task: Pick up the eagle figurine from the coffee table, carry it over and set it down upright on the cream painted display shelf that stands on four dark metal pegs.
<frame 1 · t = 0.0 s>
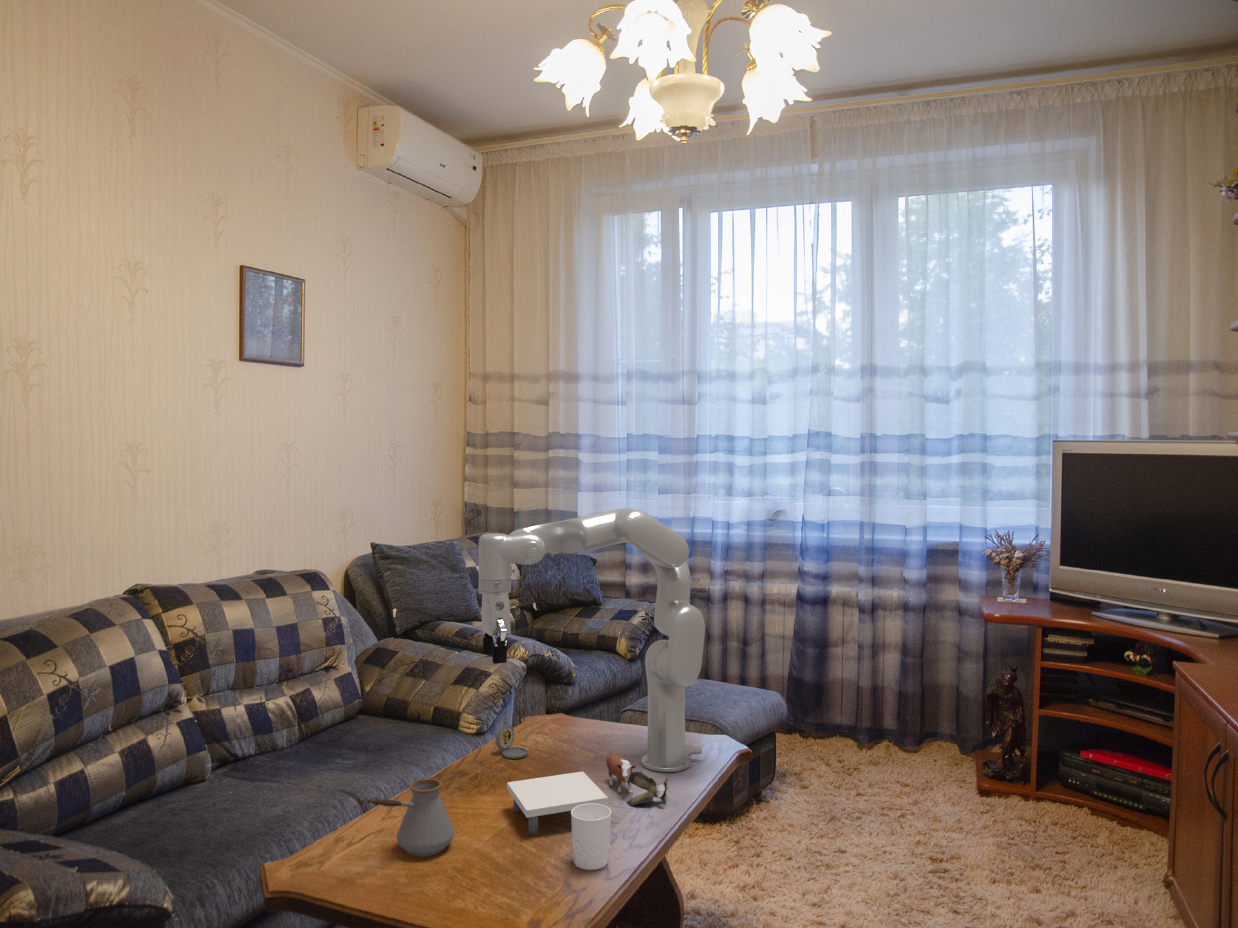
hand: (494, 658, 203), 31 cm above the table, tool pointing down, fingers open, 9 cm apart
coffee pot: (407, 858, 169), on the table
bull figurine: (620, 790, 203), on the table, touching eagle figurine
eagle figurine: (647, 803, 196), on the table, touching bull figurine
white cup: (590, 862, 168), on the table
pocket watch: (512, 755, 226), on the table
display shelf: (556, 816, 188), on the table
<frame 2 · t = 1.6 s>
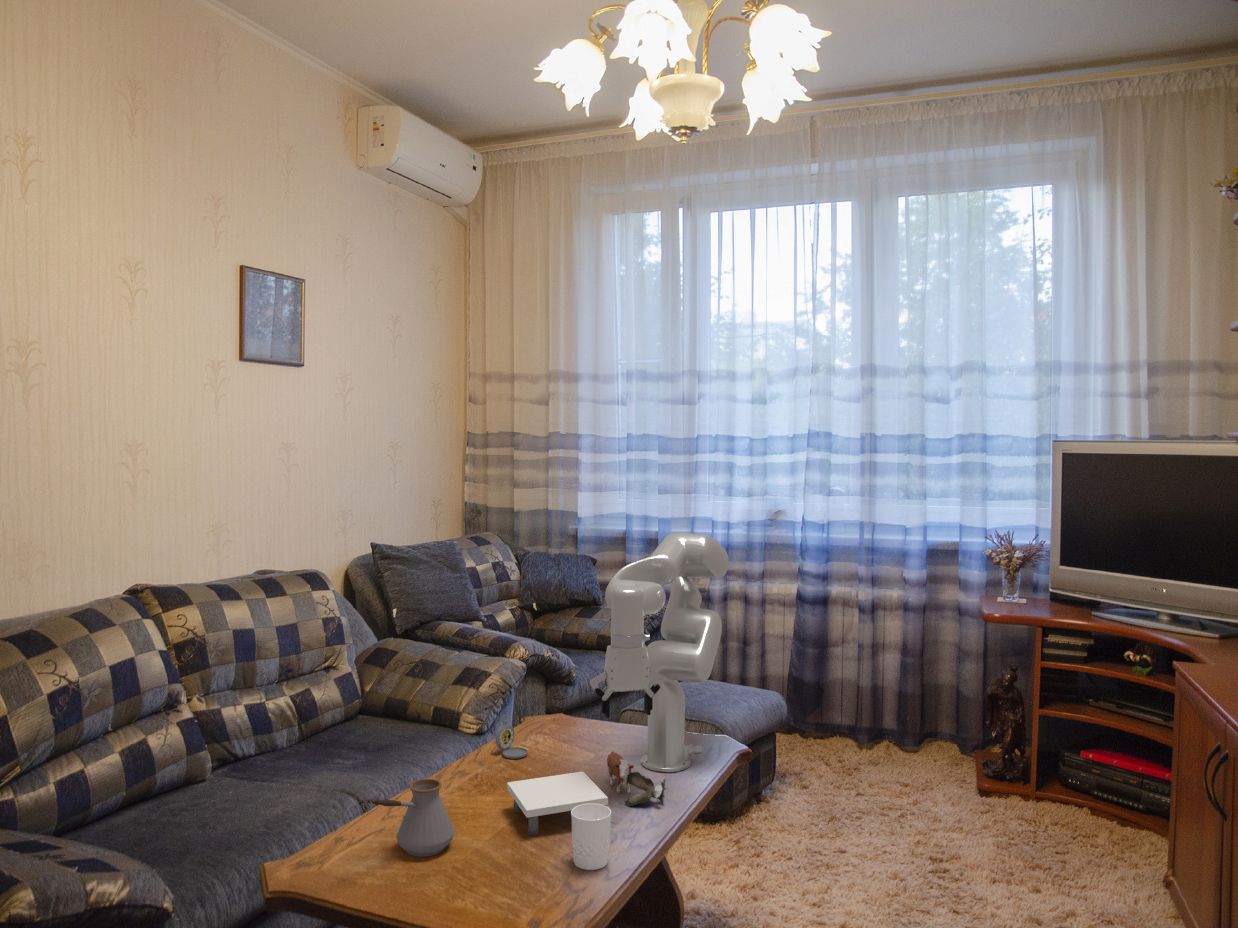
hand: (627, 714, 197), 20 cm above the table, tool pointing down, fingers open, 9 cm apart
nothing on the table moved.
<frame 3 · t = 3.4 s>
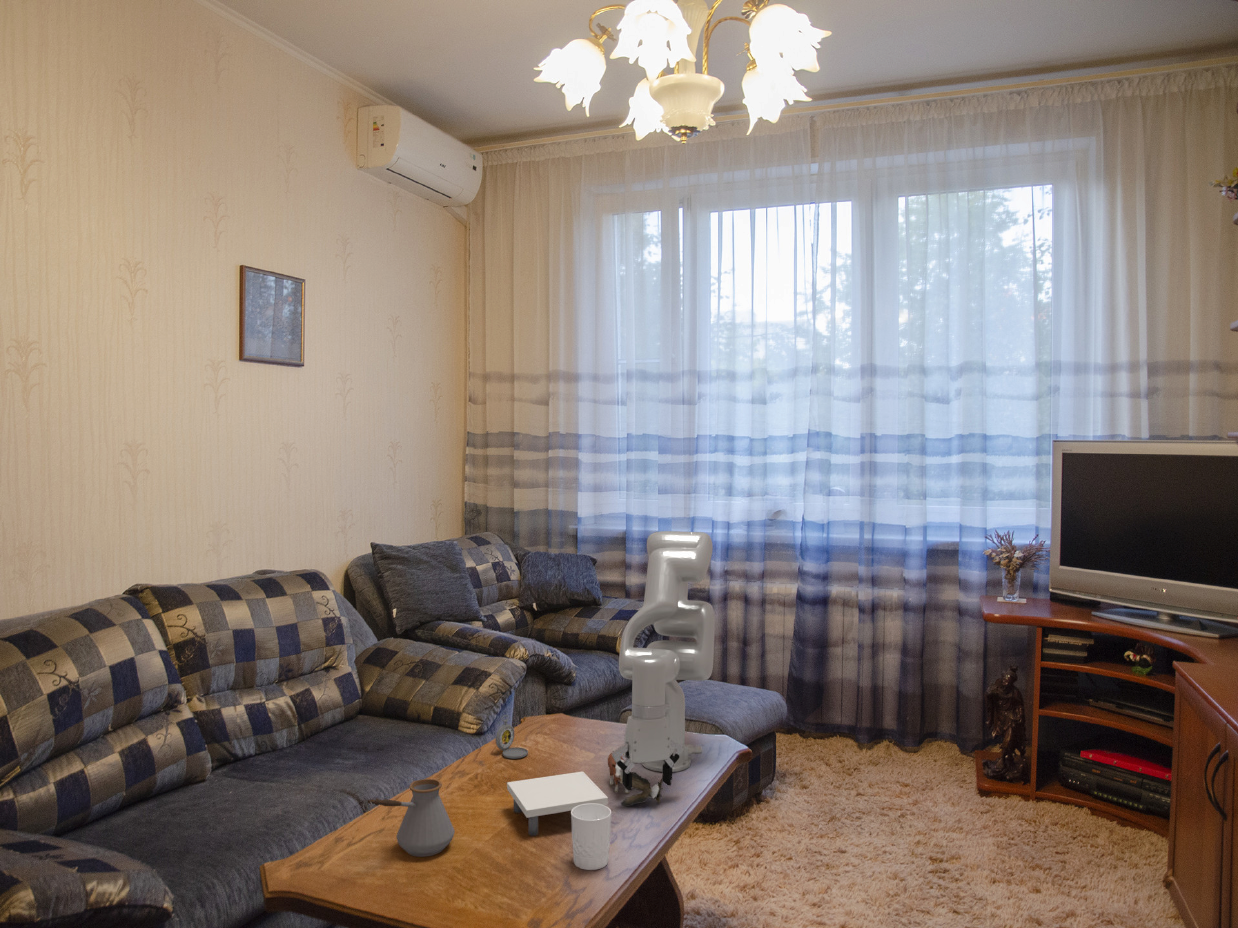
hand: (647, 786, 195), 4 cm above the table, tool pointing down, fingers open, 9 cm apart
bull figurine: (619, 789, 204), on the table
eagle figurine: (642, 803, 196), on the table
everything else where it was.
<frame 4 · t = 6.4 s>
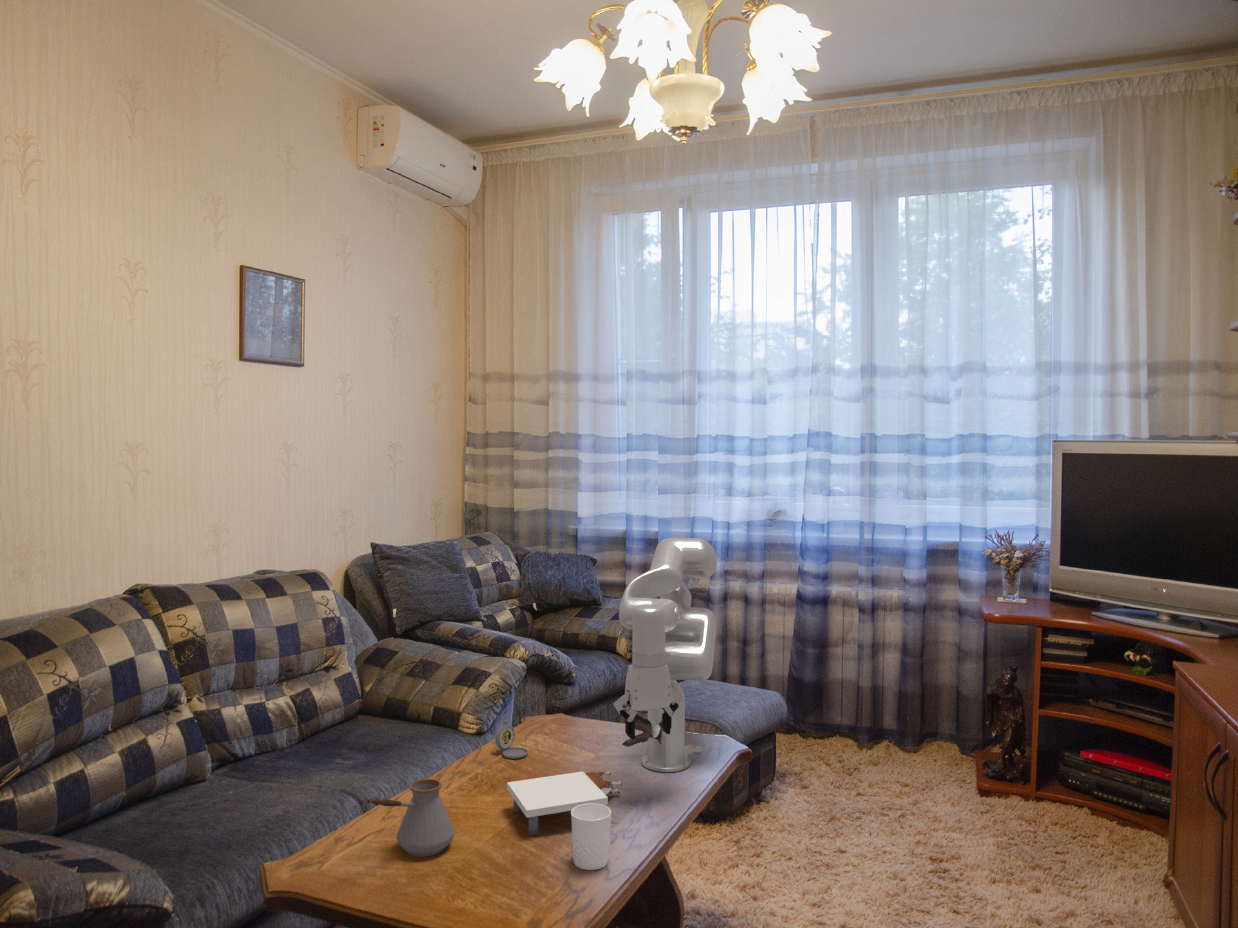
hand: (648, 734, 196), 15 cm above the table, tool pointing down, fingers closed on eagle figurine, 8 cm apart
bull figurine: (618, 785, 201), point 2 cm above the table
eagle figurine: (643, 744, 196), point 13 cm above the table, touching gripper
everything else where it was.
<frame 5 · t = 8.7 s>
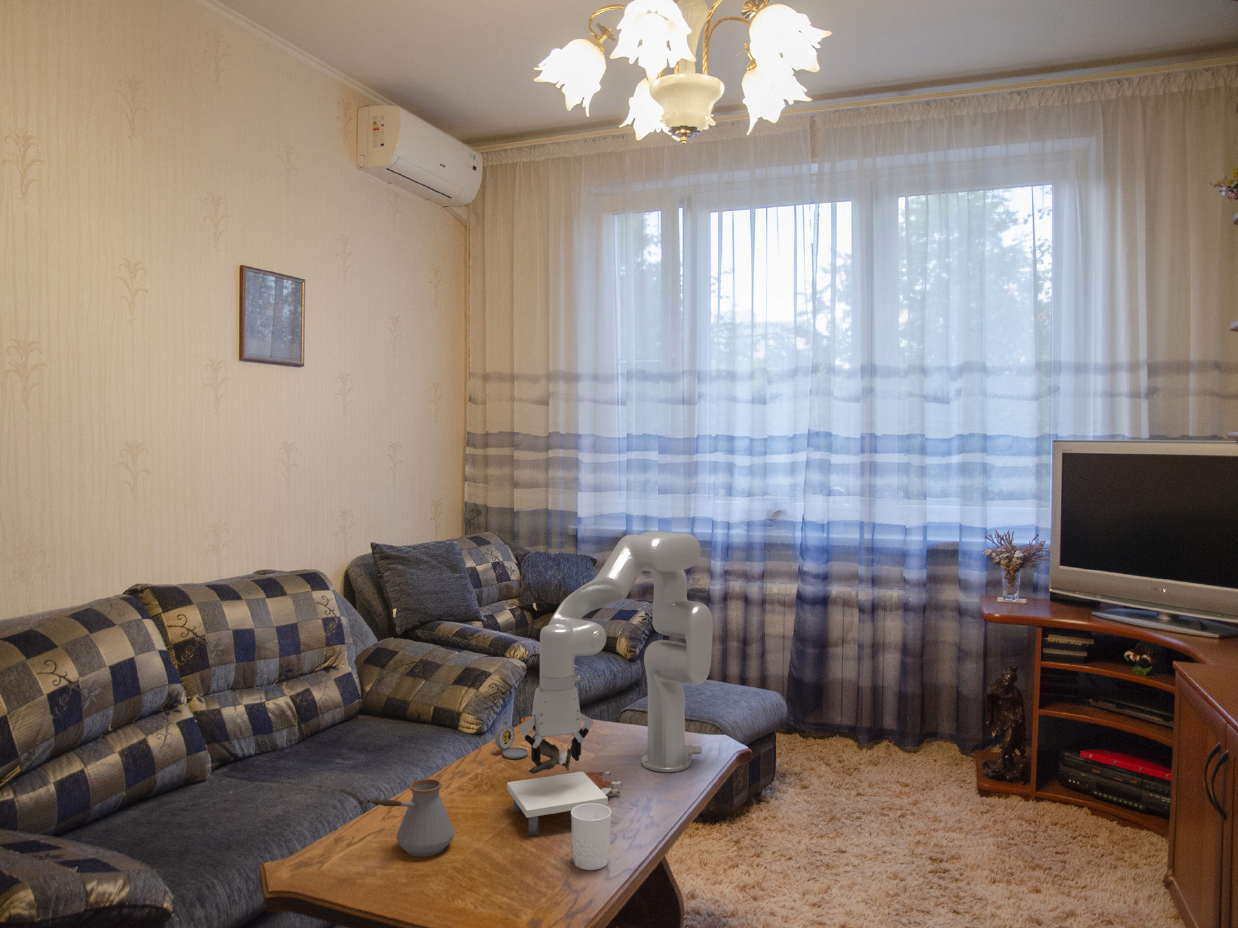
hand: (556, 761, 188), 12 cm above the table, tool pointing down, fingers closed on eagle figurine, 8 cm apart
eagle figurine: (550, 771, 187), point 10 cm above the table, touching gripper
everything else where it was.
when the fingers open (9 cm above the table, at t = 10.3 s): eagle figurine stays where it is, resting on display shelf.
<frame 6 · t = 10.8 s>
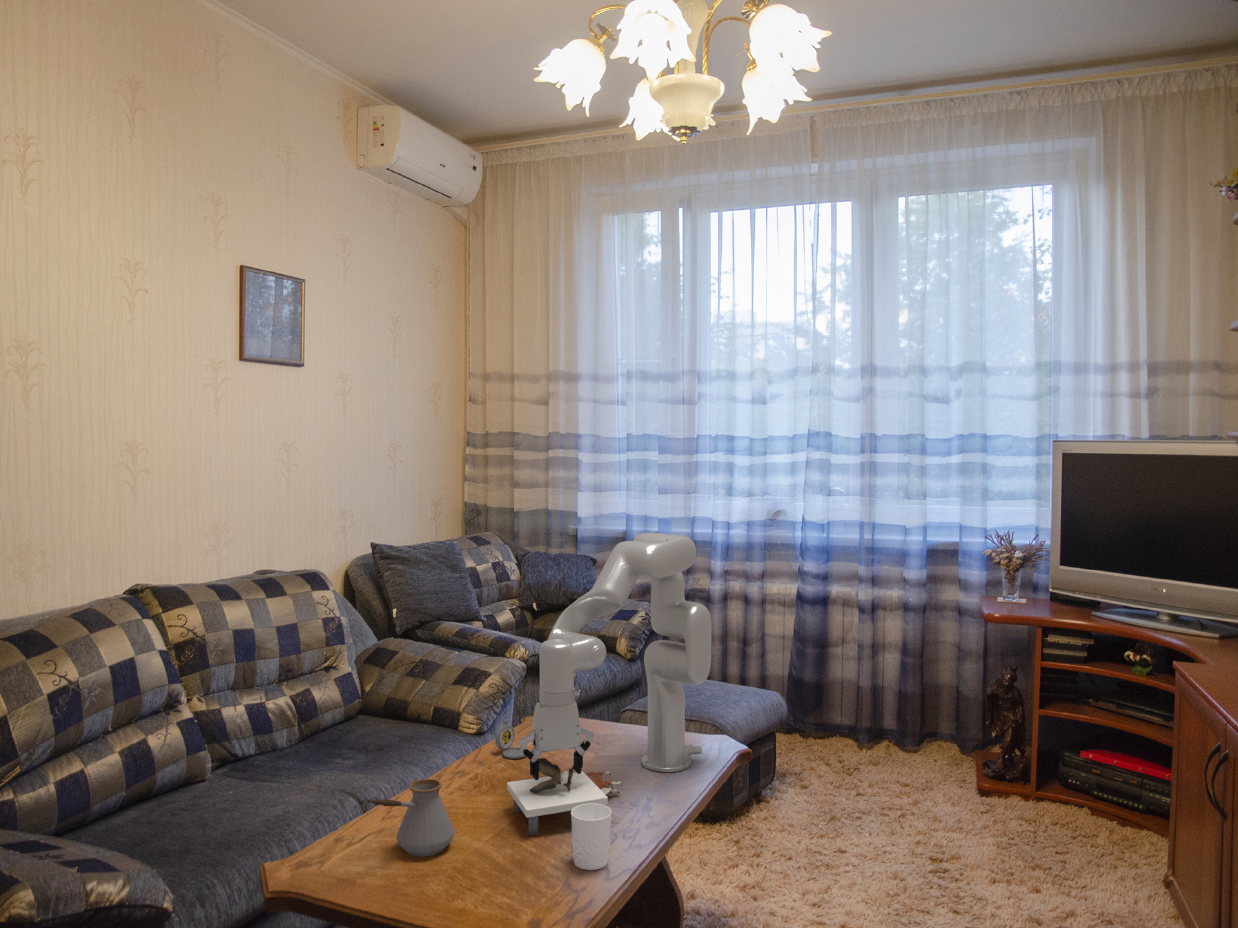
hand: (556, 774, 188), 9 cm above the table, tool pointing down, fingers open, 9 cm apart
eagle figurine: (551, 790, 188), point 6 cm above the table, touching display shelf
everything else where it was.
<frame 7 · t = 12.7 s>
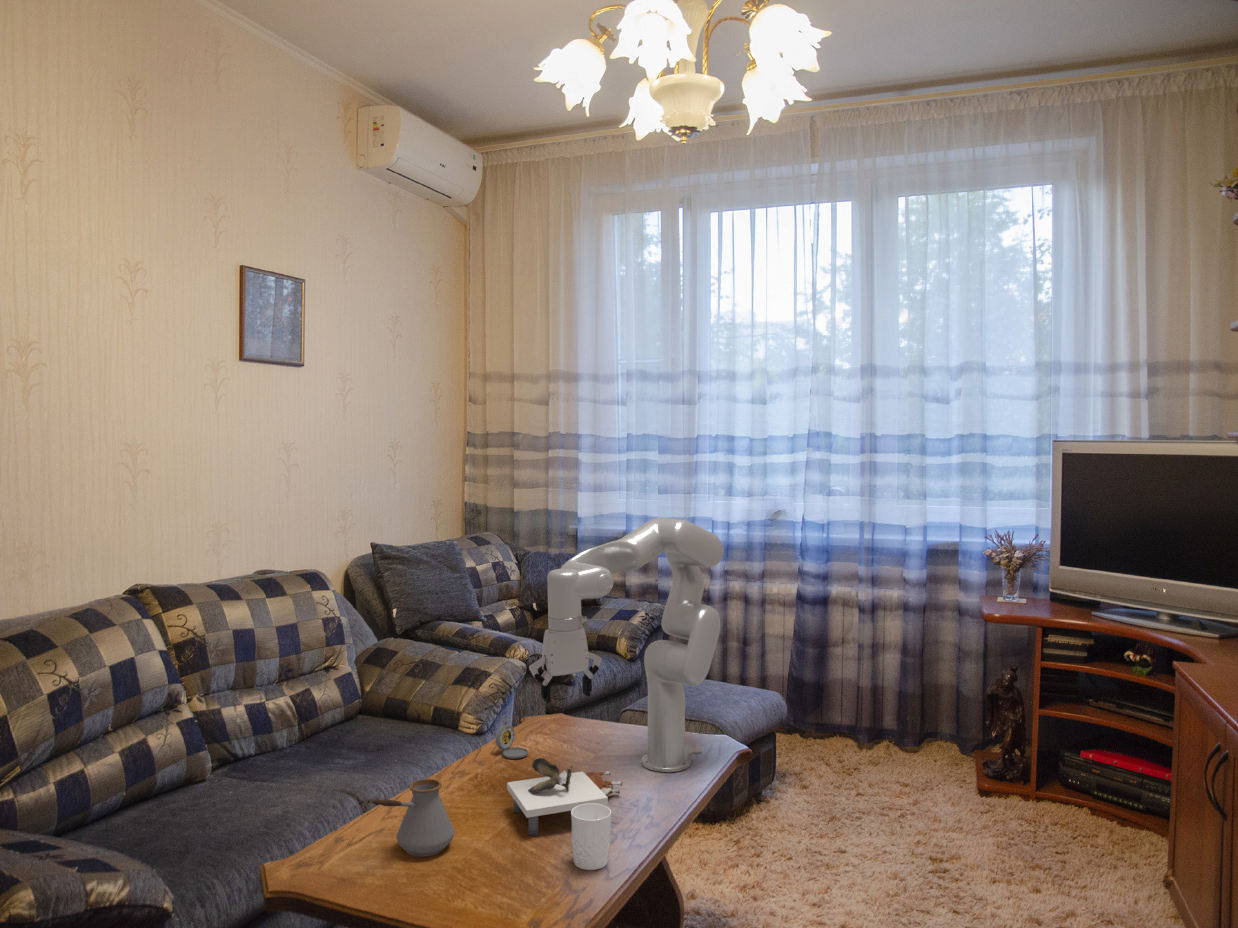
hand: (566, 697, 195), 24 cm above the table, tool pointing down, fingers open, 9 cm apart
nothing on the table moved.
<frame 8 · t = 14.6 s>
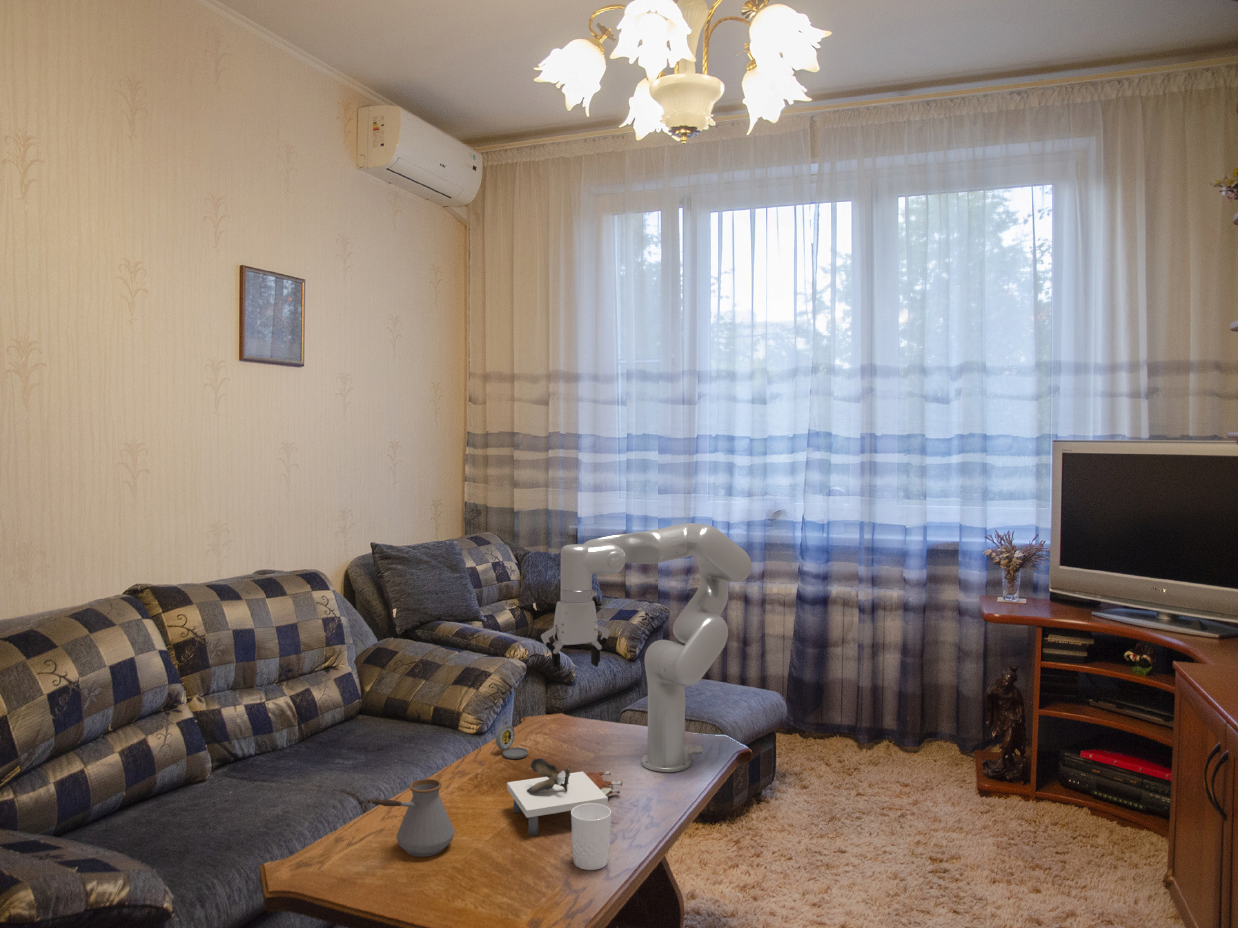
hand: (575, 667, 206), 28 cm above the table, tool pointing down, fingers open, 9 cm apart
nothing on the table moved.
at the end: eagle figurine inside the target area on the display shelf (1.6 cm from its centre), point 5.8 cm above the display shelf's base; eagle figurine tilted 0°; the gripper is holding nothing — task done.
